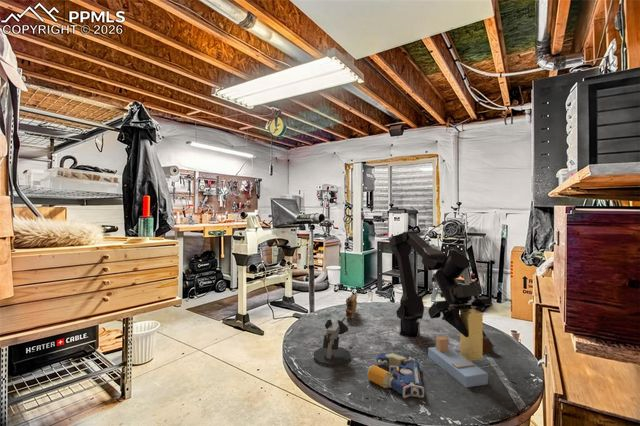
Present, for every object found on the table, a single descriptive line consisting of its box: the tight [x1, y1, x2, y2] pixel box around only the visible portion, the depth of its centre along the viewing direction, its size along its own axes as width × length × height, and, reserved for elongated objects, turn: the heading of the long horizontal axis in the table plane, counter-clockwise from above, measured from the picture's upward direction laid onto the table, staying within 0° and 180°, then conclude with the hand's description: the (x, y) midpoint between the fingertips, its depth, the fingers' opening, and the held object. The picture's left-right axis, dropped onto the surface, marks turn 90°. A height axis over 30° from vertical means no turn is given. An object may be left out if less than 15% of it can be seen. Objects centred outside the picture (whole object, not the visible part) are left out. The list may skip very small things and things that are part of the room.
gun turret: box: [313, 315, 351, 368], centre depth 104 cm, size 13×20×13 cm, turn 161°
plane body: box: [427, 335, 489, 388], centre depth 93 cm, size 18×7×7 cm, turn 13°
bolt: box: [483, 330, 494, 354], centre depth 111 cm, size 6×5×15 cm
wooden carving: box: [345, 293, 358, 319], centre depth 139 cm, size 16×5×10 cm, turn 169°
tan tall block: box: [459, 309, 484, 362], centre depth 87 cm, size 4×4×13 cm
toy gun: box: [367, 352, 425, 399], centre depth 89 cm, size 21×4×15 cm
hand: (474, 335), depth 85 cm, fingers closed on tan tall block, 4 cm apart
